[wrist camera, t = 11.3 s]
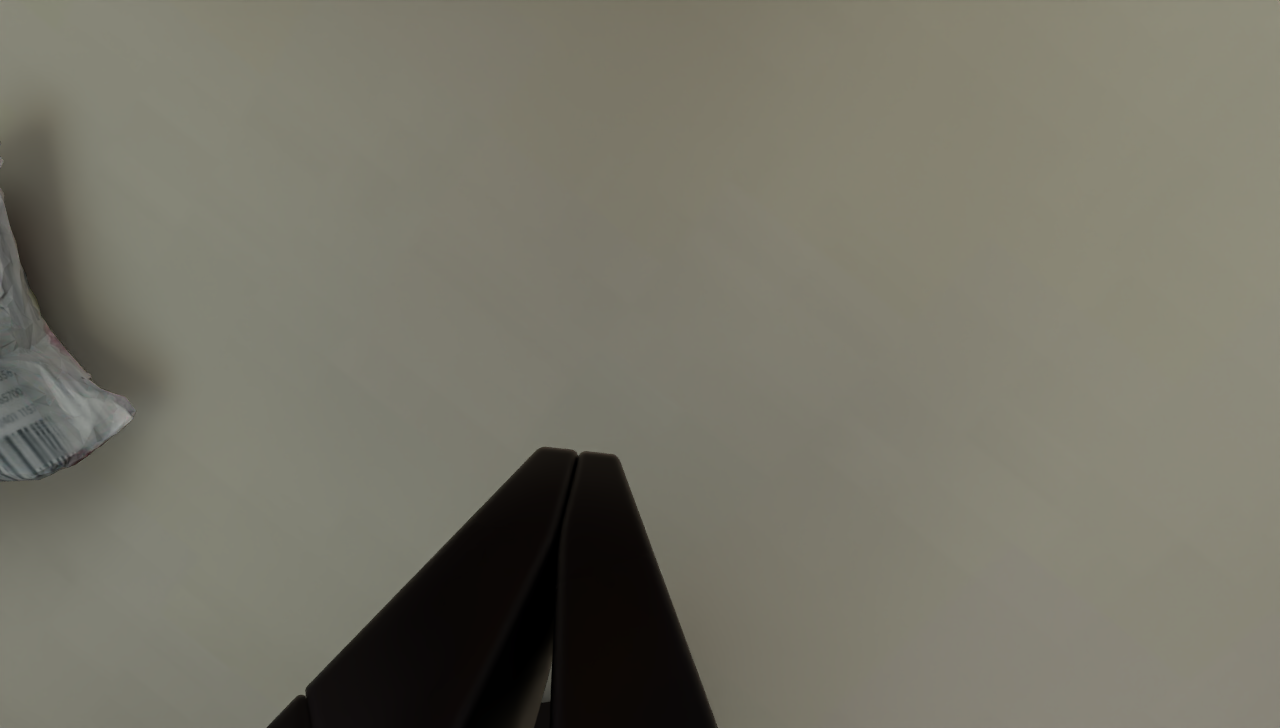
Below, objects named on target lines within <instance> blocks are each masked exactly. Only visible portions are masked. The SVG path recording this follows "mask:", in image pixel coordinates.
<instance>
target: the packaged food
mask: <svg viewBox="0 0 1280 728" xmlns="http://www.w3.org/2000/svg"><path fill="white" fill-rule="evenodd" d="M0 145H1V142H0ZM3 162H4V161H3V159H2V158H1V157H0V168H1V166H2V164H3ZM89 378H91V375H90V373H88V372H86V371H84V370H83V368H82V367H81V366H80V365H79V364H78V362H77V361H76V360H75V359H74V358H73V357H72V356H71V355H70V353H69V352H68V351H67V350H66V349H65V347H64V346H63V345H62V344H61V342H60V341H59V340H58V339H57V337H56V336H55V335H54V334H53V332H52V331H51V330H50V328H49V327H48V325H47V323H46V321H45V320H44V319H43V318H42V316H41V314H40V308H39V305H38V302H37V299H36V297H35V295H34V294H33V292H32V291H31V289H30V288H29V284H28V280H27V277H26V273H25V271H24V270H23V268H22V265H21V263H20V260H19V255H18V249H17V243H16V241H15V238H14V235H13V233H12V230H11V228H10V224H9V220H8V216H7V212H6V208H5V204H4V193H3V191H2V189H1V188H0V481H24V480H40V479H42V478H44V477H47V476H49V475H52V474H54V473H55V472H57V471H59V470H61V469H64V468H68V467H70V466H73V465H75V464H77V463H78V462H80V461H81V460H83V459H84V458H85V457H87V456H88V455H89V454H91V453H92V452H93V451H94V450H95V449H97V448H98V447H100V446H102V445H103V444H104V443H105V442H106V441H108V440H109V439H110V438H111V437H112V436H114V435H115V434H117V433H118V432H120V431H121V430H122V429H123V428H124V427H125V426H126V425H127V424H128V423H129V422H130V421H131V420H132V419H133V417H134V414H135V412H136V410H135V408H134V407H133V406H132V405H131V403H130V402H129V400H128V399H127V398H126V397H124V396H121V395H118V394H115V393H111V392H109V391H106V390H104V389H101V388H100V387H98V386H97V385H96V384H95V383H93V382H92V381H91V380H89Z"/></svg>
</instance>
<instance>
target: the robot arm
mask: <svg viewBox="0 0 1280 728" xmlns="http://www.w3.org/2000/svg"><path fill="white" fill-rule="evenodd" d="M551 664H552V677H551V701H550V702H546V703H541V701H542V697H543V694H544V690H545V687H546V683H547V680H548V676H549V672H550V668H551ZM305 691H306V696H304V695H298V696H297V697H296V698H295V699H294V700H293V701H292V702H291V703H290V704H289V705H288V706H287V707H286V708H285V709H284V710H283V711H282V712H281V713H280V714H279V715H278V716H277V717H276V718H275V719H274V720H273V722H272V723H271V724H270V725H269V726H268V727H267V728H718V727H717V724H716V721H715V718H714V716H713V713H712V710H711V708H710V705H709V702H708V699H707V697H706V694H705V691H704V688H703V686H702V683H701V680H700V678H699V675H698V672H697V669H696V667H695V664H694V661H693V659H692V656H691V653H690V650H689V648H688V645H687V642H686V639H685V637H684V634H683V631H682V629H681V626H680V623H679V620H678V618H677V615H676V612H675V609H674V607H673V604H672V601H671V599H670V596H669V593H668V590H667V588H666V585H665V582H664V579H663V577H662V574H661V571H660V569H659V566H658V563H657V560H656V558H655V555H654V552H653V550H652V547H651V544H650V541H649V539H648V536H647V533H646V530H645V528H644V525H643V522H642V520H641V517H640V514H639V511H638V509H637V506H636V503H635V500H634V498H633V495H632V492H631V490H630V487H629V484H628V481H627V479H626V476H625V473H624V470H623V468H622V465H621V462H620V460H619V459H618V457H617V456H616V455H613V454H606V453H597V452H588V451H584V452H582V453H581V454H580V455H579V456H578V455H577V453H576V452H575V451H574V450H570V449H561V448H552V447H541V448H539V449H538V450H536V451H535V452H534V453H533V454H532V455H531V457H530V458H529V459H528V460H527V461H526V462H525V463H524V464H523V465H522V466H521V467H520V468H519V469H518V470H517V471H516V472H515V473H514V474H513V475H512V476H511V477H510V478H509V479H508V480H507V481H506V482H505V483H504V484H503V485H502V486H501V487H500V488H499V489H498V490H497V492H496V493H495V494H494V495H493V496H492V497H491V498H490V499H489V500H488V501H487V502H486V503H485V504H484V505H483V506H482V507H481V508H480V509H479V510H478V511H477V512H476V513H475V514H474V515H473V516H472V517H471V518H470V519H469V520H468V521H467V522H466V523H465V524H464V525H463V526H462V528H461V529H460V530H459V531H458V532H457V533H456V534H455V535H454V536H453V537H452V538H451V539H450V540H449V541H448V542H447V543H446V544H445V545H444V546H443V547H442V548H441V549H440V550H439V551H438V552H437V553H436V554H435V555H434V556H433V557H432V558H431V559H430V560H429V561H428V563H427V564H426V565H425V566H424V567H423V568H422V569H421V570H420V571H419V572H418V573H417V574H416V575H415V576H414V577H413V578H412V579H411V580H410V581H409V582H408V583H407V584H406V585H405V586H404V587H403V588H402V589H401V590H400V591H399V592H398V593H397V594H396V595H395V596H394V597H393V599H392V600H391V601H390V602H389V603H388V604H387V605H386V606H385V607H384V608H383V609H382V610H381V611H380V612H379V613H378V614H377V615H376V616H375V617H374V618H373V619H372V620H371V621H370V622H369V623H368V624H367V625H366V626H365V627H364V628H363V629H362V630H361V631H360V632H359V633H358V635H357V636H356V637H355V638H354V639H353V640H352V641H351V642H350V643H349V644H348V645H347V646H346V647H345V648H344V649H343V650H342V651H341V652H340V653H339V654H338V655H337V656H336V657H335V658H334V659H333V660H332V661H331V662H330V663H329V664H328V665H327V666H326V667H325V668H324V670H323V671H322V672H321V673H320V674H319V675H318V676H317V677H316V678H315V679H314V680H313V681H312V682H311V683H310V684H309V685H308V686H307V687H306V690H305Z"/></svg>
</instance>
